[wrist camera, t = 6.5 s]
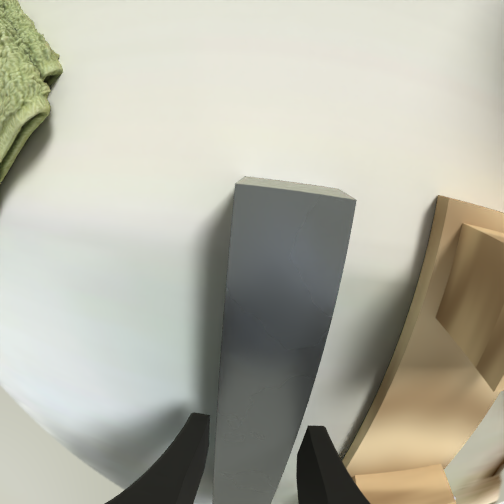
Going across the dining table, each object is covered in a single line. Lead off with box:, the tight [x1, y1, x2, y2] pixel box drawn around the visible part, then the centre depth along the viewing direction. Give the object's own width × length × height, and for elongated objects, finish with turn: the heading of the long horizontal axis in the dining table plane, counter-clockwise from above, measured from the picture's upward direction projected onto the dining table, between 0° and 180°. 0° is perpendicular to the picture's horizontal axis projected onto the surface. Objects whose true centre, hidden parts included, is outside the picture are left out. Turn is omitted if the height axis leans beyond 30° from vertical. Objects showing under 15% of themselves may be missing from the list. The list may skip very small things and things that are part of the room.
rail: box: [213, 176, 356, 504], centre depth 12 cm, size 18×3×3 cm, turn 174°
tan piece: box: [342, 195, 504, 504], centre depth 10 cm, size 19×8×5 cm, turn 174°
